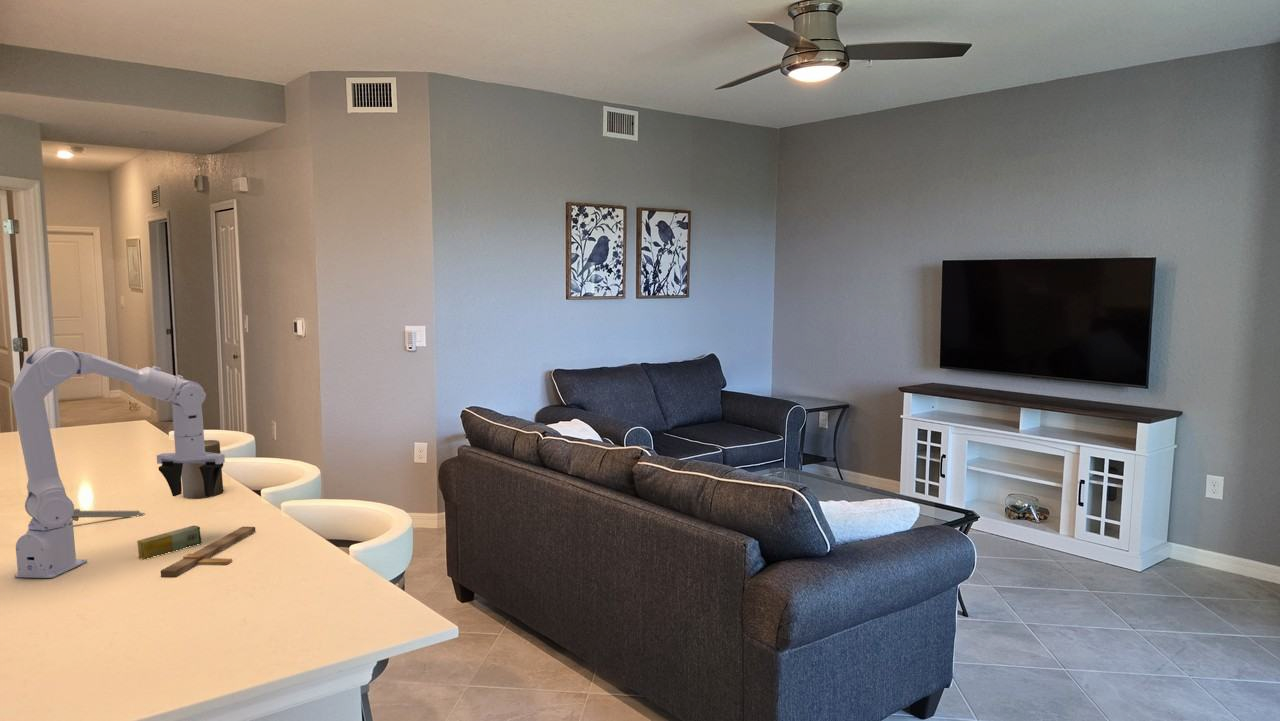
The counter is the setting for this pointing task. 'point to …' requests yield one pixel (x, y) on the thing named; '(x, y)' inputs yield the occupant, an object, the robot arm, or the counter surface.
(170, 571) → the brown wooden cross
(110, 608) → the counter surface
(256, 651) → the counter surface
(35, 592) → the counter surface
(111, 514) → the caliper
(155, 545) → the medication box
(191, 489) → the pillar candle
